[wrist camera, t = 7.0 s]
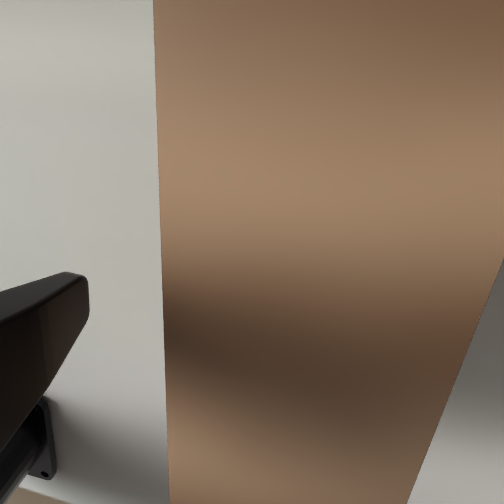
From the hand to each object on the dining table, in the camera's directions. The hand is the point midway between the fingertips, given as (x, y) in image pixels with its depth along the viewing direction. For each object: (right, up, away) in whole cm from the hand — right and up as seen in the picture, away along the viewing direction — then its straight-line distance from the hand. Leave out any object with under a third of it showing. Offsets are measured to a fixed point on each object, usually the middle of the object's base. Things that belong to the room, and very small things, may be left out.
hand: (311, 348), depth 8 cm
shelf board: (+1, +2, +4) cm, 4 cm away
